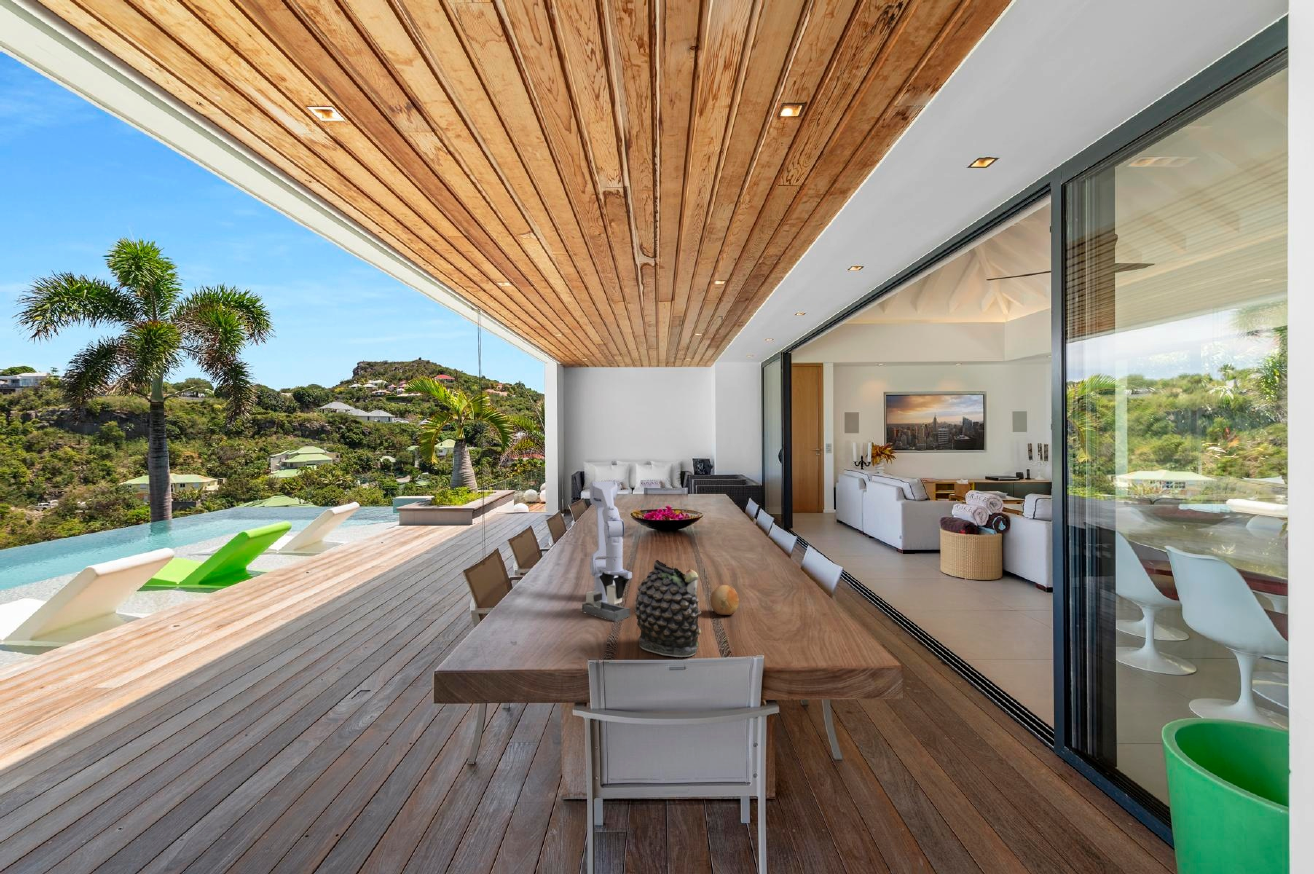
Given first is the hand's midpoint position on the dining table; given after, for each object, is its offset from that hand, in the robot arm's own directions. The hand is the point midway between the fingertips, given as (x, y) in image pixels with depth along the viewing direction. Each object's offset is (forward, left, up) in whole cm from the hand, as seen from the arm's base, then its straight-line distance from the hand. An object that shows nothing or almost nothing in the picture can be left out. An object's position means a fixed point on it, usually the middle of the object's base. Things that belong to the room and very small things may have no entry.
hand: (614, 596), depth 198 cm
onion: (-26, +27, -7) cm, 38 cm away
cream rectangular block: (0, 0, -2) cm, 2 cm away
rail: (0, -4, -7) cm, 8 cm away
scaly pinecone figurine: (+12, +33, -7) cm, 36 cm away
